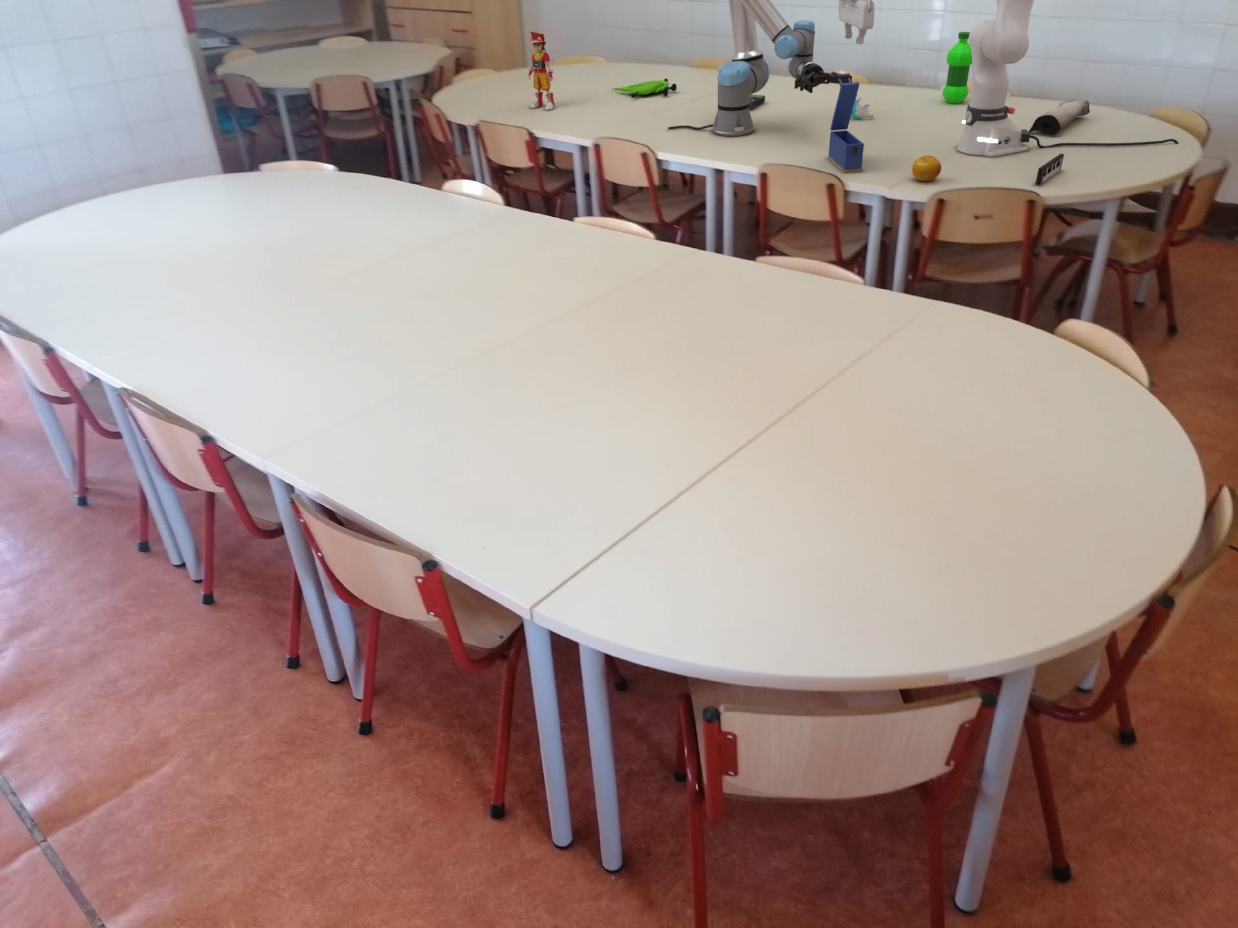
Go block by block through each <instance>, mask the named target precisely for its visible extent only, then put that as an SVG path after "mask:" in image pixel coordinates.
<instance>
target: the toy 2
mask: <svg viewBox="0 0 1238 928" xmlns="http://www.w3.org/2000/svg"><path fill="white" fill-rule="evenodd" d="M669 85H670V83H669V79H668V78H664V79H663V80H649V81H644V82H640V83H634V84H629V85H627V86H621V87H613V88H612V89H613V90H616V91H619V92H623V93H627V94H628V93H629V94H631V95H630V96H631V98H632V99H634V98H636V96H637V95H650V94H652V93H654V94H658V93H662V95H663V96H665V97H667V96H668V95H669V90H671V91H672V92H676V91H677V84H676V83H672V84H671V86H669Z"/></svg>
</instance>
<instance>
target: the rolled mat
mask: <svg viewBox="0 0 1238 928" xmlns="http://www.w3.org/2000/svg"><path fill="white" fill-rule="evenodd" d="M1090 113H1091V110H1090V101H1089V100H1087V99H1073V100H1066V101H1063V102H1060V103H1059V105H1058V106H1057V107H1055V108H1052V109H1049V111H1047V112H1045V113H1043V114H1041V115H1040V116H1038V117H1036V119H1035V120H1034V121H1033V123H1032V125H1031V127H1030V129H1029V130H1028V132H1029V133H1030V134H1032V133H1033V132H1040V133H1041V134H1042V135H1045V136H1051V137H1054V136H1056V135H1058V134H1059V133H1061V131H1062V130H1063V129H1064V128H1065V127H1066V126H1067V125H1068V124H1069V123H1071V122H1072V121H1073V120H1075V119H1076V118H1077V117H1082V116H1083V117H1084V116H1086V115H1089V114H1090Z"/></svg>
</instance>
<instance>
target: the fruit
mask: <svg viewBox="0 0 1238 928" xmlns="http://www.w3.org/2000/svg"><path fill="white" fill-rule="evenodd" d="M941 171H942V163H941V161H940V160H939V159H938V158H936V157H935V156H933V155H923V156H920V157H918V158H917V159H915V160H914V161H913V163H912V166H911V174H912V176H913V177H914V179H916V180H917V181H921V182H931V181H934V180H935V179H936V178H937V177H938V176H939V175H940V174H941Z"/></svg>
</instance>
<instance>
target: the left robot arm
mask: <svg viewBox="0 0 1238 928" xmlns="http://www.w3.org/2000/svg"><path fill="white" fill-rule="evenodd" d="M728 3H729V4H728V5H729V11H730V13H729V14H730V20H731V22H730V23H731V29H732V30H731V31H732V37H733V44H734V45H733V46H734V47H733V48H734V54H733V56H732V57H731V61H730V62H726V63H723V64H721V65H720V67H719V68H718V70H717V111H716V114H715V118H714V120H713V123H712V124H707V125H703V126H700V127H698V126H692V125H686V124H685V125H673V126H668V127H667V130H675V129H691V130H695V131H698V130H705V129H709V128H712V133H713V134H715V135H717V136H721V137H741V136H746V135H750V134H752V133H754V122H753V118H752V115H751V111H750V110H749V97H750V95H754V94H757V93H758V92H760V91H761V90H762V89H764V87H766V85H767V83H768V82H769V79H770V74H771V73H770V66H769V63H768V62H767V61H766V60H765V59H764V52H763V51H762V50H761V49H760V48H759V42H758V33H757V24H758V26H759V27H760V28H761V29H762V31H763V32H764V33H765V35H766V36H767V38H769V40H770V41H771V42H772V44H773V45H774V46H773V49H774V53H775V55H776V57H778V58H779V59H781V60H788V59H790V60H789V62H788V64H787V65H788V66H787V70H788V72H789V74H790V75H791V77H792V78H793V79H795V80H794V90H797V89H799V91H800V92H804V91H807V92H808V93H809V94H813V90H814V88H816V87H818V86H820V85H822V84H823V85H828V84H829V85H830V84H836V85H837V84H838V85H839V82H838V81H836V75H837V74H841V73H840V72H836V71H831V72H825V71H824V69H823V67H822V66H821V65H819V64H818V63H816V62H814V49H815V36H816V24H815V21H813V20H807V19H806V20H803V19H802V20H797V21H795V22H794V23H793V28H792V27H791V26H790V24H789V23H788V22H787V21H786V19H785V17H784V16H783V15H782V14H781V13H780V11H779V10H778V8H776V6H775V5H774V3H773V2H772V1H771V0H728ZM850 80H851V82H853V75H851V74H850ZM841 81H842V83H848V80H841Z"/></svg>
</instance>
